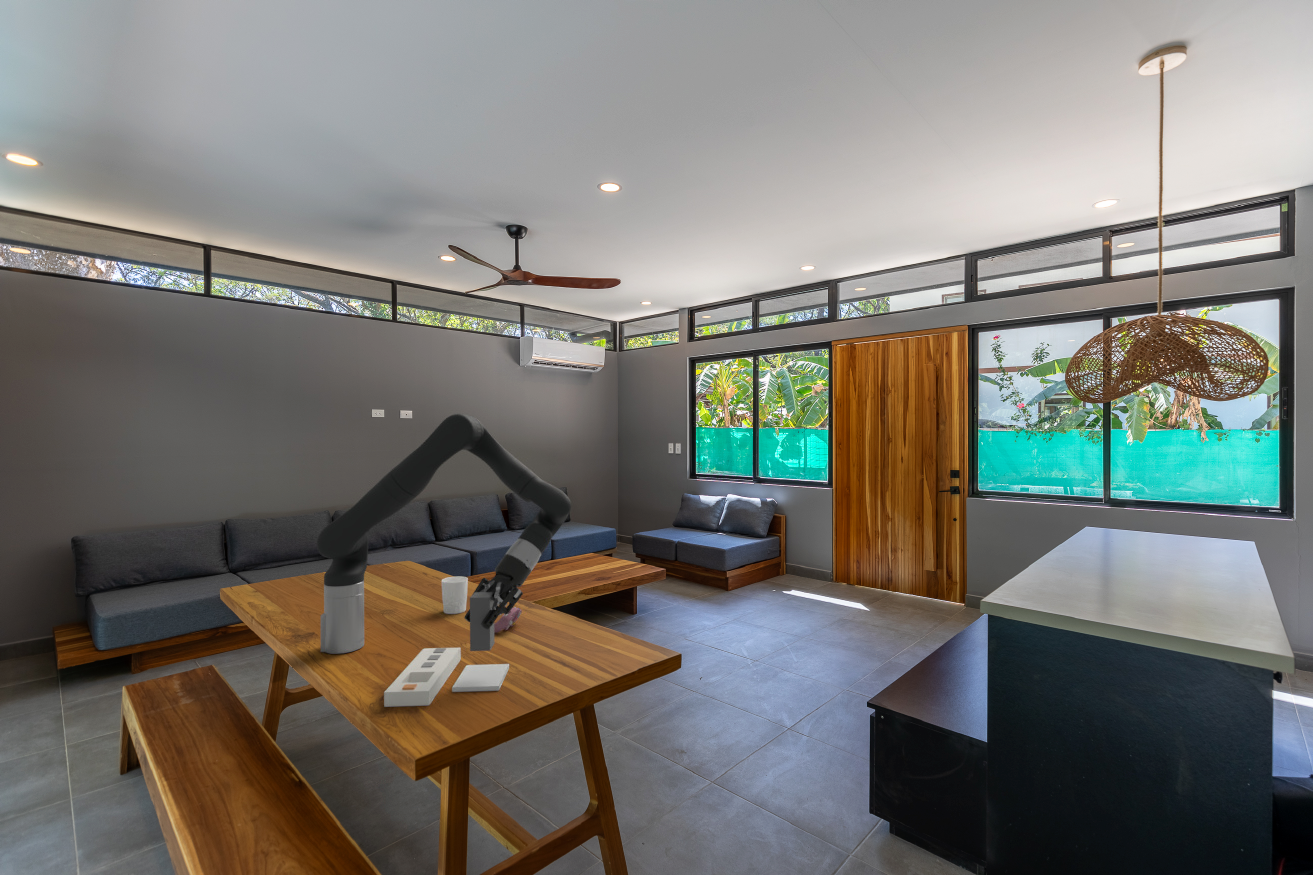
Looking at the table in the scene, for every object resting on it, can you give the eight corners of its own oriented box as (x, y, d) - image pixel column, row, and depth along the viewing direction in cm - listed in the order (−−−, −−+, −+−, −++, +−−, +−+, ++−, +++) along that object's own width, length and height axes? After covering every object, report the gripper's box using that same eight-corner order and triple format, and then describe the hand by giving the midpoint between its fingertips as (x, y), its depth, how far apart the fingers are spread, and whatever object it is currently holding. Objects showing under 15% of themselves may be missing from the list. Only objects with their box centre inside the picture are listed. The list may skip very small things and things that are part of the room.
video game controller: (502, 639, 161) (512, 618, 160) (488, 631, 162) (498, 610, 161) (517, 628, 171) (526, 607, 170) (504, 620, 171) (514, 599, 171)
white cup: (452, 616, 176) (452, 583, 176) (436, 612, 181) (436, 580, 181) (473, 609, 183) (473, 578, 183) (456, 605, 187) (456, 575, 187)
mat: (452, 691, 125) (452, 687, 125) (466, 669, 137) (466, 664, 137) (498, 690, 126) (498, 685, 126) (509, 668, 138) (509, 663, 138)
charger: (470, 651, 129) (469, 597, 129) (475, 643, 133) (474, 592, 133) (490, 650, 129) (489, 597, 129) (494, 643, 134) (493, 591, 134)
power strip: (384, 706, 118) (384, 690, 118) (423, 660, 142) (423, 646, 142) (429, 705, 119) (429, 688, 119) (460, 659, 143) (460, 645, 143)
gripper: (491, 549, 142) (447, 608, 133) (528, 557, 132) (483, 621, 123) (510, 566, 146) (468, 625, 137) (546, 575, 136) (504, 639, 127)
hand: (475, 623), depth 130 cm, fingers closed on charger, 6 cm apart
